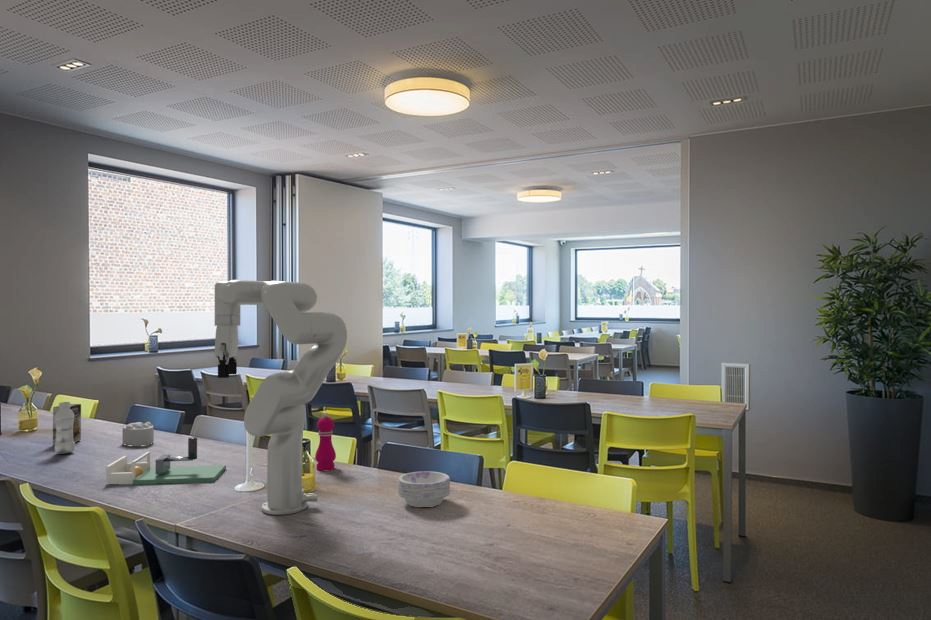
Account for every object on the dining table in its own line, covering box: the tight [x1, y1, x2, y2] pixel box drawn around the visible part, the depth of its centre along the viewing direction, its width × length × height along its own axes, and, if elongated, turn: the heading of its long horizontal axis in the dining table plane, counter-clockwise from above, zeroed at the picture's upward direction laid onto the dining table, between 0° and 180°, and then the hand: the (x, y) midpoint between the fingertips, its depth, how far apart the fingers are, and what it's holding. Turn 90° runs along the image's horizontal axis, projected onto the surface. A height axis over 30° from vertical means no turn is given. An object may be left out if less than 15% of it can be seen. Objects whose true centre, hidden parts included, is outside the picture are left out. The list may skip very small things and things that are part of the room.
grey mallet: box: [155, 436, 198, 474], centre depth 205 cm, size 12×7×11 cm, turn 98°
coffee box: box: [52, 403, 82, 446], centre depth 255 cm, size 9×6×16 cm
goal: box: [105, 451, 151, 486], centre depth 203 cm, size 9×14×7 cm, turn 8°
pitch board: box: [132, 464, 227, 486], centre depth 206 cm, size 25×16×2 cm, turn 98°
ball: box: [130, 466, 143, 478], centre depth 204 cm, size 4×4×4 cm
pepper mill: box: [314, 412, 337, 472], centre depth 216 cm, size 7×7×20 cm
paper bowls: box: [397, 470, 451, 508], centre depth 178 cm, size 15×15×8 cm
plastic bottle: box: [54, 401, 76, 455], centre depth 237 cm, size 6×7×20 cm
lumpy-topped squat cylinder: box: [122, 421, 155, 447], centre depth 255 cm, size 10×13×9 cm
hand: (227, 375), depth 189 cm, fingers open, 9 cm apart
